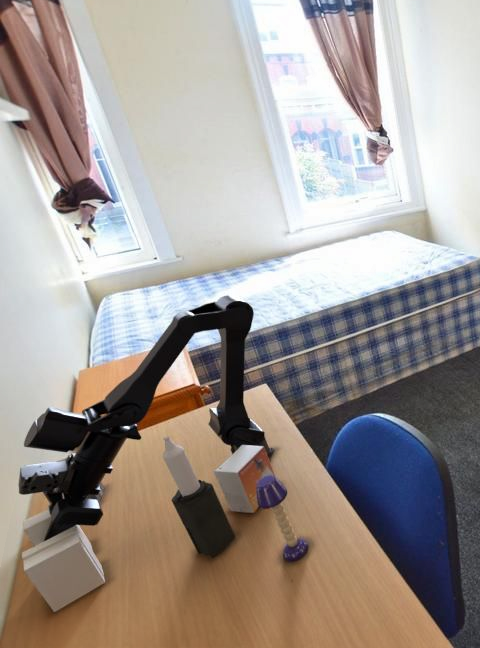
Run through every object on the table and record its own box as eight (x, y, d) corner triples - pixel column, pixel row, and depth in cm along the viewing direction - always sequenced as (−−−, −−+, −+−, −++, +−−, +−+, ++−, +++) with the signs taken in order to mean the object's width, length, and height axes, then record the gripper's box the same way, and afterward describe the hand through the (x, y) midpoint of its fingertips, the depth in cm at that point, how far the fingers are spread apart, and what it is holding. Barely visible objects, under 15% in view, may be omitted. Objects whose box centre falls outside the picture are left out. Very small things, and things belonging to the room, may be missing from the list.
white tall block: (91, 543, 90) (63, 501, 85) (93, 552, 88) (65, 509, 84) (53, 564, 86) (22, 521, 82) (54, 574, 84) (23, 530, 80)
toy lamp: (280, 567, 81) (250, 495, 75) (279, 547, 85) (250, 477, 78) (309, 554, 83) (282, 483, 77) (307, 535, 87) (281, 466, 80)
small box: (253, 514, 93) (236, 473, 89) (230, 511, 94) (212, 471, 90) (279, 484, 100) (264, 445, 96) (257, 482, 101) (241, 443, 97)
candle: (238, 535, 89) (190, 428, 79) (214, 558, 84) (161, 448, 74) (218, 530, 90) (169, 424, 80) (194, 552, 86) (139, 443, 76)
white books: (101, 564, 85) (76, 525, 81) (106, 582, 82) (80, 541, 78) (50, 593, 81) (21, 552, 77) (53, 612, 77) (23, 571, 73)
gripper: (36, 427, 86) (-16, 509, 84) (43, 471, 74) (-17, 568, 72) (107, 439, 95) (62, 513, 92) (124, 480, 83) (73, 567, 80)
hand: (46, 538), depth 84 cm, fingers closed on white tall block, 3 cm apart
